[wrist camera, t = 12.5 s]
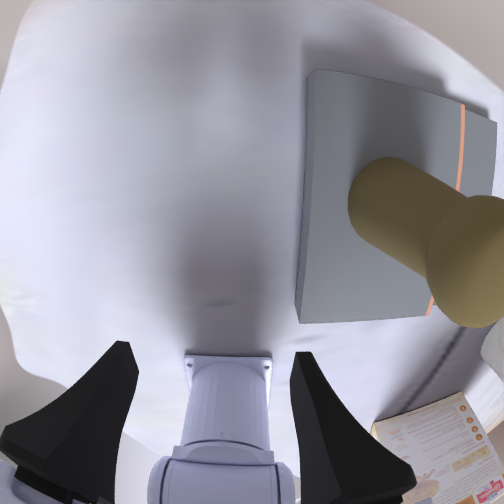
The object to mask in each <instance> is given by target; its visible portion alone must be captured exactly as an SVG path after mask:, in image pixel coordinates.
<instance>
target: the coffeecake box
mask: <svg viewBox="0 0 504 504" xmlns="http://www.w3.org/2000/svg"><path fill="white" fill-rule="evenodd" d="M370 435H372V436H373V437H374V438H375V439H376V440H377V441H378V442H379V443H381V444H382V445H383V446H384V447H385V448H387V449H388V450H389V451H391V452H392V453H393V454H395V455H396V456H397V457H399V458H400V459H402V460H403V461H405V462H406V463H408V464H410V465H411V467H412V469H413V471H414V474H415V477H416V480H417V485H416V486H415V487H414V488H413V489H411V490H410V491H408V492H406V493H405V494H403V495H402V497H403V502H402V503H400V504H413V503H416V502H419V501H421V500H424V499H426V498H429V497H430V498H432V502H433V504H490V503H492V502H493V501H495V500H497V499H498V498H500V497H501V496H502V495H504V468H503V466H502V464H501V461H500V460H499V458H498V455H497V453H496V452H495V449H494V448H493V446H492V444H491V442H490V440H489V438H488V436H487V434H486V433H485V431H484V429H483V427H482V425H481V424H480V422H479V420H478V418H477V417H476V415H475V413H474V412H473V410H472V408H471V406H470V405H469V403H468V401H467V400H466V398H465V397H464V395H463V393H462V392H461V391H460V392H458V393H456V394H453V395H451V396H449V397H447V398H444V399H442V400H439V401H437V402H435V403H432V404H429V405H427V406H424V407H421V408H419V409H416V410H413V411H410V412H407V413H404V414H401V415H398V416H395V417H392V418H389V419H385V420H382V421H378V422H374V423H373V427H372V430H371V433H370Z"/></svg>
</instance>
